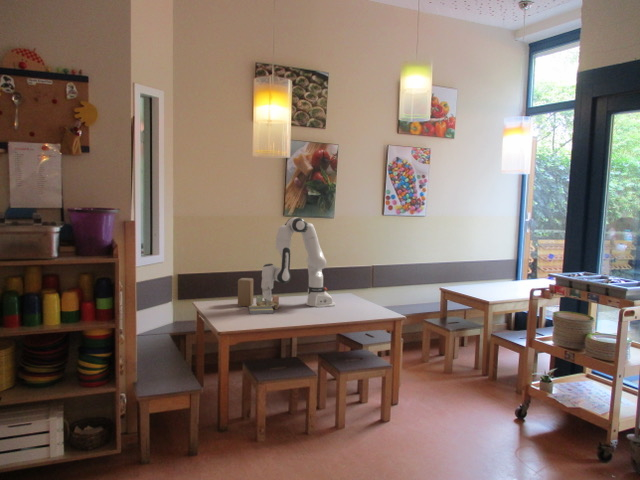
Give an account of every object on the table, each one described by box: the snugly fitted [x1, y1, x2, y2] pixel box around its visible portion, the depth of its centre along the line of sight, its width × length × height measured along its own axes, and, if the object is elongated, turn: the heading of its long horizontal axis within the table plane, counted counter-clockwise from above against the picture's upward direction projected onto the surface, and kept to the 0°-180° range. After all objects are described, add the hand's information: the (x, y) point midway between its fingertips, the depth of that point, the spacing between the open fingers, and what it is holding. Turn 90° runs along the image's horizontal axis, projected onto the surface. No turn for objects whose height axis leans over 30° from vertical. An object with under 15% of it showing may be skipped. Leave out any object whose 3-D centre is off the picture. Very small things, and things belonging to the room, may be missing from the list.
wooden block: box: [237, 277, 254, 307], centre depth 370 cm, size 10×10×20 cm
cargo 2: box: [271, 294, 280, 303], centre depth 362 cm, size 4×4×4 cm
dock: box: [248, 305, 274, 315], centre depth 350 cm, size 16×12×3 cm
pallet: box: [255, 300, 280, 310], centre depth 361 cm, size 16×6×5 cm, turn 104°
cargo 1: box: [255, 295, 264, 303], centre depth 359 cm, size 4×4×4 cm
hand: (266, 304), depth 361 cm, fingers open, 6 cm apart
